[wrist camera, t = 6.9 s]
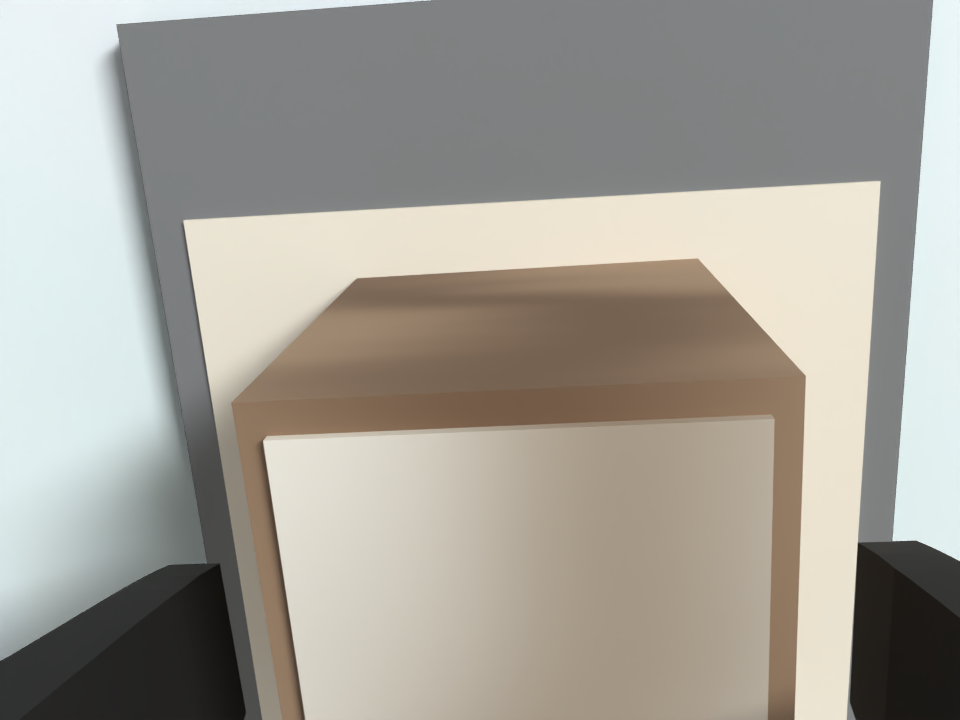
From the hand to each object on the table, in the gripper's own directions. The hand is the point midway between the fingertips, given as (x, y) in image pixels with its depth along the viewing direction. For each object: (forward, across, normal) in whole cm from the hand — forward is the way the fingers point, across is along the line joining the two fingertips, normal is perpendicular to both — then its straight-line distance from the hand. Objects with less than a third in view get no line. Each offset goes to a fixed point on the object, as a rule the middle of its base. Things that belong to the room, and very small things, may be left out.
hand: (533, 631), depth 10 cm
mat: (+3, 0, 0) cm, 3 cm away
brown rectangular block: (+3, 0, 0) cm, 3 cm away
